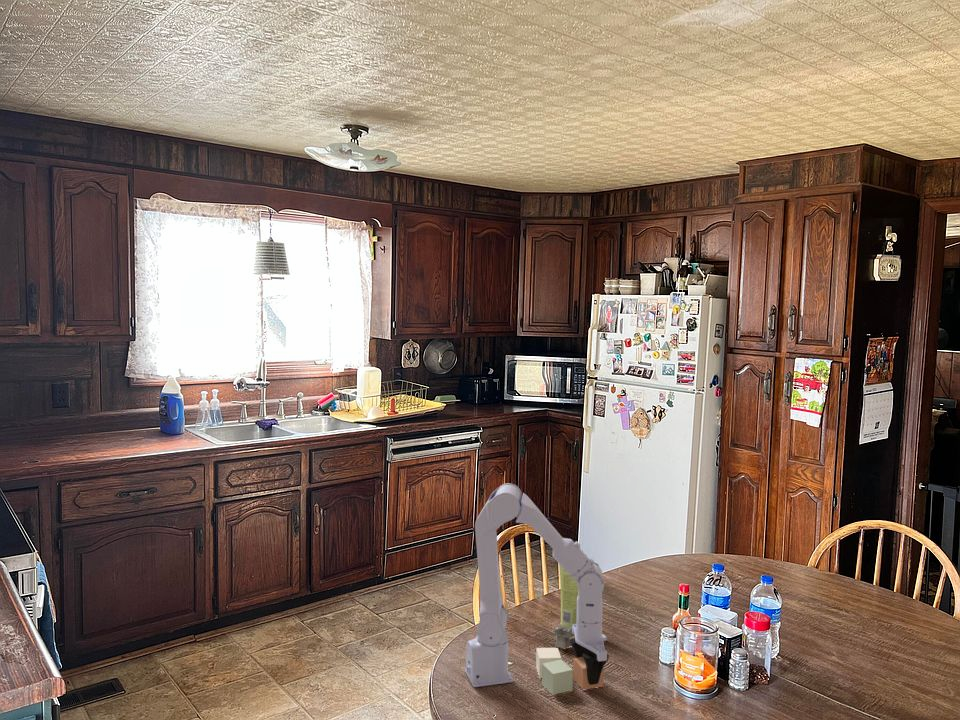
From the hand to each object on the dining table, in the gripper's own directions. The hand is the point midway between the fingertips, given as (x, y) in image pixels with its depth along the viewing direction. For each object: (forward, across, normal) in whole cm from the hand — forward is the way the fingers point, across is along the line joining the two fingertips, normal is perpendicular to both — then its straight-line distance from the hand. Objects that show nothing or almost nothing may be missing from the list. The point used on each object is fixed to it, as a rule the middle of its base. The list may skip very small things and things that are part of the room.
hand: (588, 677), depth 163 cm
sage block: (+2, 0, +8) cm, 8 cm away
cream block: (+2, +6, +7) cm, 10 cm away
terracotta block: (+1, 0, 0) cm, 1 cm away
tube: (+2, +28, -8) cm, 30 cm away
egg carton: (+2, +19, -5) cm, 19 cm away
